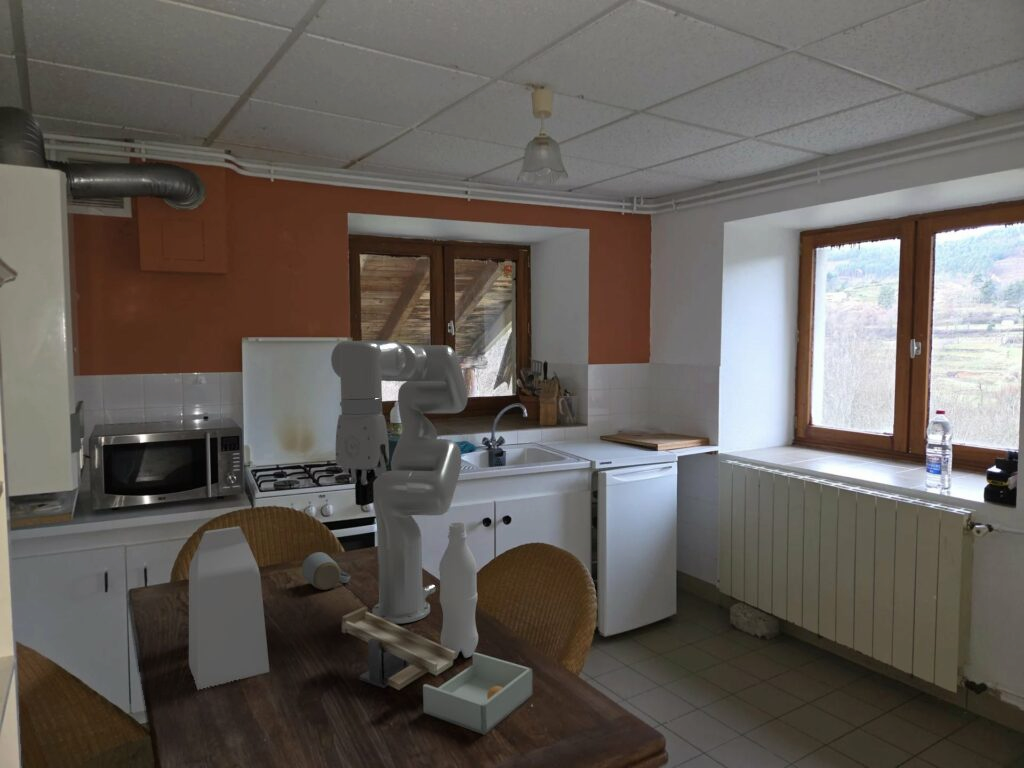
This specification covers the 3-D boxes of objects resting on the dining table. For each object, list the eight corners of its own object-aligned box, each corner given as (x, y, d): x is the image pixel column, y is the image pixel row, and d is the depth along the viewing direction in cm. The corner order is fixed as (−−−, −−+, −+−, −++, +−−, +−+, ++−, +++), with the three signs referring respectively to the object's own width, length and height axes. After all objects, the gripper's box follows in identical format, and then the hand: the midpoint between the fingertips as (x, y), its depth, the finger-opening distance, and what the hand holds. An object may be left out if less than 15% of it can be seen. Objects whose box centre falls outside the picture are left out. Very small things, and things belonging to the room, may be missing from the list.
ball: (493, 696, 115) (496, 679, 114) (509, 705, 113) (512, 688, 113) (481, 705, 112) (484, 687, 112) (498, 714, 110) (501, 696, 110)
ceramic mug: (313, 594, 165) (313, 562, 165) (301, 585, 172) (301, 554, 171) (355, 585, 172) (355, 555, 171) (342, 576, 178) (342, 547, 178)
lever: (312, 645, 122) (313, 629, 122) (364, 621, 132) (365, 606, 132) (407, 694, 110) (408, 676, 110) (455, 663, 121) (456, 647, 120)
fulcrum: (359, 679, 123) (358, 639, 123) (394, 659, 131) (393, 622, 130) (384, 688, 120) (383, 647, 120) (418, 667, 127) (417, 629, 127)
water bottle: (461, 641, 138) (459, 517, 136) (486, 653, 133) (483, 524, 131) (433, 653, 133) (430, 524, 131) (457, 665, 128) (454, 531, 126)
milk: (197, 690, 120) (191, 542, 119) (188, 664, 130) (182, 527, 128) (269, 671, 127) (264, 531, 125) (255, 648, 136) (250, 518, 135)
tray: (475, 676, 124) (474, 652, 123) (532, 694, 117) (532, 668, 117) (423, 712, 112) (423, 685, 112) (484, 734, 105) (483, 706, 105)
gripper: (319, 407, 132) (322, 503, 133) (376, 411, 123) (379, 513, 125) (348, 404, 138) (351, 495, 139) (405, 407, 130) (407, 504, 131)
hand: (364, 503), depth 132 cm, fingers closed
